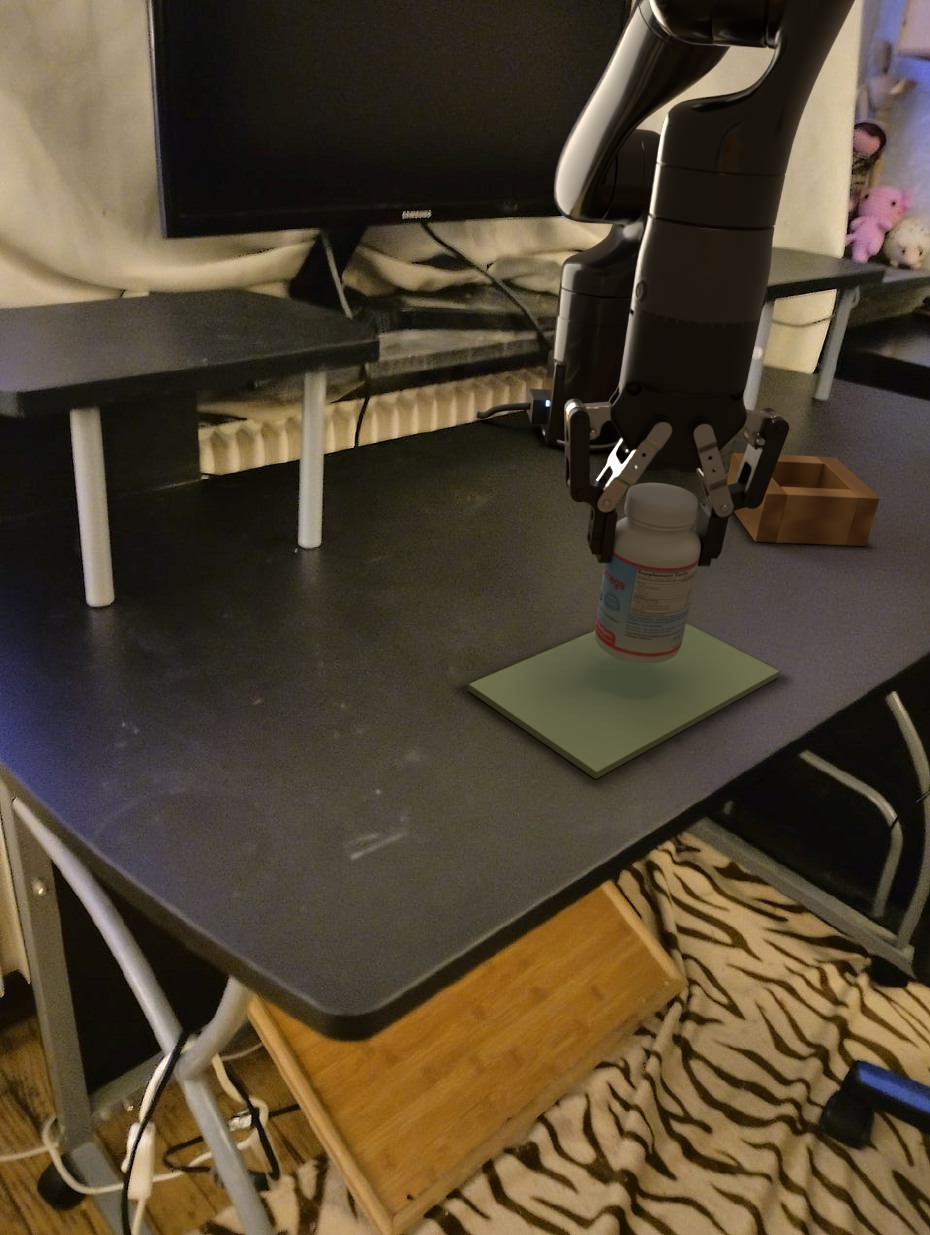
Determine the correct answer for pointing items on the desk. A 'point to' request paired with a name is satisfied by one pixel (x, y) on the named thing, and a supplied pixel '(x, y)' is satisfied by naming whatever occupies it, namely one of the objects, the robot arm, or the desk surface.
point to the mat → (619, 696)
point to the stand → (810, 503)
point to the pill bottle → (649, 575)
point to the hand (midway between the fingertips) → (650, 559)
